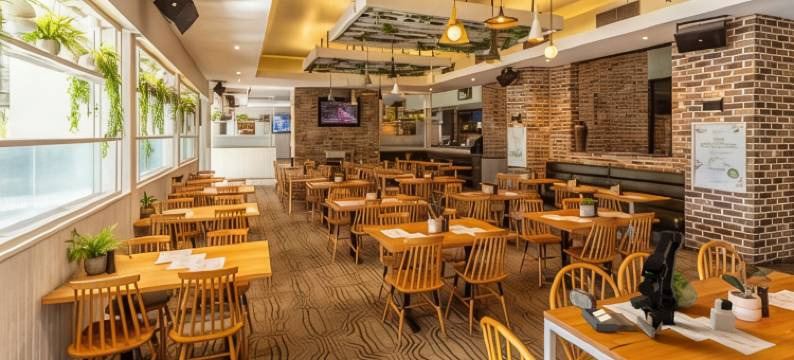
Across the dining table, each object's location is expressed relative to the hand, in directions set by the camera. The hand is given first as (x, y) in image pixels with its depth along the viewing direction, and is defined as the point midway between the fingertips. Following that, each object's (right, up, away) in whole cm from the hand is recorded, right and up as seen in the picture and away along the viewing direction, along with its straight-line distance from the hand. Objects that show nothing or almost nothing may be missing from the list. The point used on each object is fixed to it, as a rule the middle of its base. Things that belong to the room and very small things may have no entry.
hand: (651, 328), depth 195 cm
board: (-9, -2, +11) cm, 14 cm away
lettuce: (+26, 0, +34) cm, 42 cm away
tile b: (-15, 0, +8) cm, 17 cm away
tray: (-17, -1, +11) cm, 20 cm away
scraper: (+1, -1, 0) cm, 2 cm away
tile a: (-14, 0, +14) cm, 20 cm away
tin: (-17, 0, +30) cm, 34 cm away
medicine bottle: (+33, -3, +8) cm, 34 cm away
